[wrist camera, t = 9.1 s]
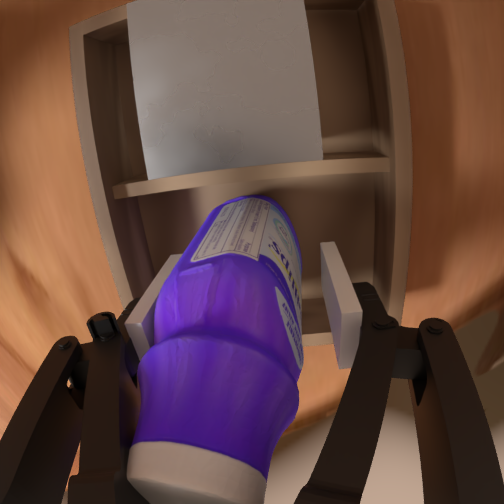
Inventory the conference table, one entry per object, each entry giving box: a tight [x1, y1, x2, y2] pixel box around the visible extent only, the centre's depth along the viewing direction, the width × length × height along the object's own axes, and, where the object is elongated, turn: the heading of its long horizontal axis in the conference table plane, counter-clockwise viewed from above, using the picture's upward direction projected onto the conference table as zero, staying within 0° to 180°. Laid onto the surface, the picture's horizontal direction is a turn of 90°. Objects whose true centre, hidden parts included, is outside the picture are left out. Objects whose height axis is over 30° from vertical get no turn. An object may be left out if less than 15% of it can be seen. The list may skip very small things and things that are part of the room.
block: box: [126, 0, 323, 180], centre depth 15 cm, size 7×8×7 cm
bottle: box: [127, 195, 304, 504], centre depth 14 cm, size 7×6×17 cm
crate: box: [69, 0, 413, 347], centre depth 19 cm, size 18×22×5 cm
